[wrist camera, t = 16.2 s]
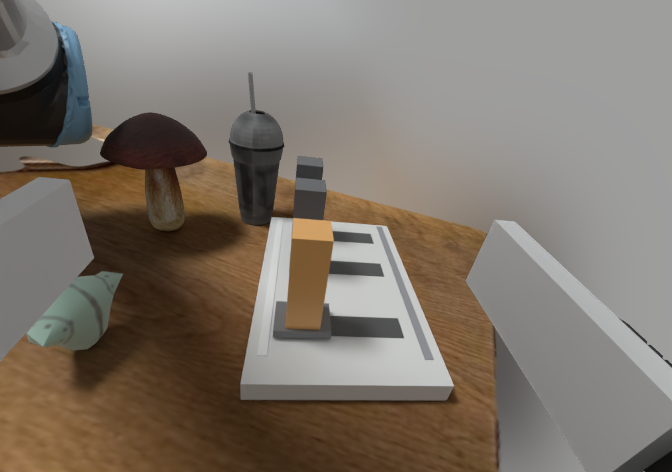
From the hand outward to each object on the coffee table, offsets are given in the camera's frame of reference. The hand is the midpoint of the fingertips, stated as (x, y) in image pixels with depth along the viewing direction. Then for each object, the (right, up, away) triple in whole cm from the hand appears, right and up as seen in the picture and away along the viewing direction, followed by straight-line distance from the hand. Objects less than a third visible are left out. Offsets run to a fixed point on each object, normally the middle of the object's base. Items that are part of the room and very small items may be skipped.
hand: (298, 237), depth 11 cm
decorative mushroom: (-21, +1, +33) cm, 39 cm away
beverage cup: (-11, +3, +39) cm, 40 cm away
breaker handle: (-2, -8, +19) cm, 21 cm away
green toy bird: (-20, -9, +17) cm, 28 cm away
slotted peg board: (+1, -6, +27) cm, 27 cm away
